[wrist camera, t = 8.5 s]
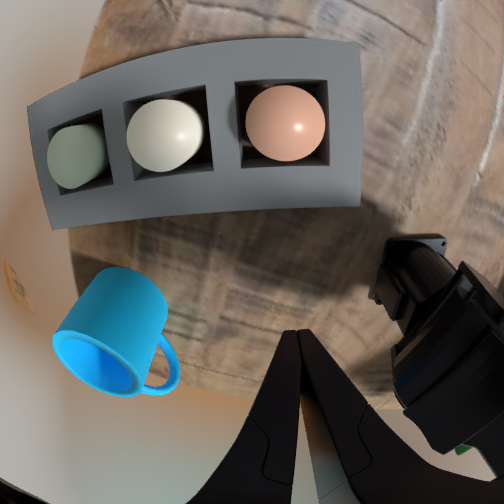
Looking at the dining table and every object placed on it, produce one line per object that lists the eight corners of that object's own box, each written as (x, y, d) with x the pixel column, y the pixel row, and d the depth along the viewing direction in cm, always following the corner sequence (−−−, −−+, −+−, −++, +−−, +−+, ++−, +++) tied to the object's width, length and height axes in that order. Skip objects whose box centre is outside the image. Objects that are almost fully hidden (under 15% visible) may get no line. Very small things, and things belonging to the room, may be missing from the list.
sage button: (106, 116, 14) (86, 119, 12) (115, 173, 16) (97, 183, 14) (63, 131, 14) (43, 137, 12) (73, 182, 16) (54, 193, 14)
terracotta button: (314, 89, 13) (323, 86, 11) (316, 153, 15) (325, 160, 13) (244, 91, 13) (242, 87, 11) (249, 155, 15) (248, 163, 13)
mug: (80, 291, 23) (41, 347, 16) (121, 249, 21) (73, 313, 14) (162, 361, 28) (144, 421, 21) (213, 336, 25) (201, 408, 18)
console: (343, 52, 13) (358, 43, 11) (345, 191, 18) (359, 206, 15) (51, 103, 14) (27, 106, 12) (72, 214, 19) (52, 229, 17)
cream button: (202, 95, 14) (192, 93, 12) (208, 159, 16) (200, 167, 13) (139, 107, 14) (122, 108, 12) (148, 167, 16) (132, 176, 14)
